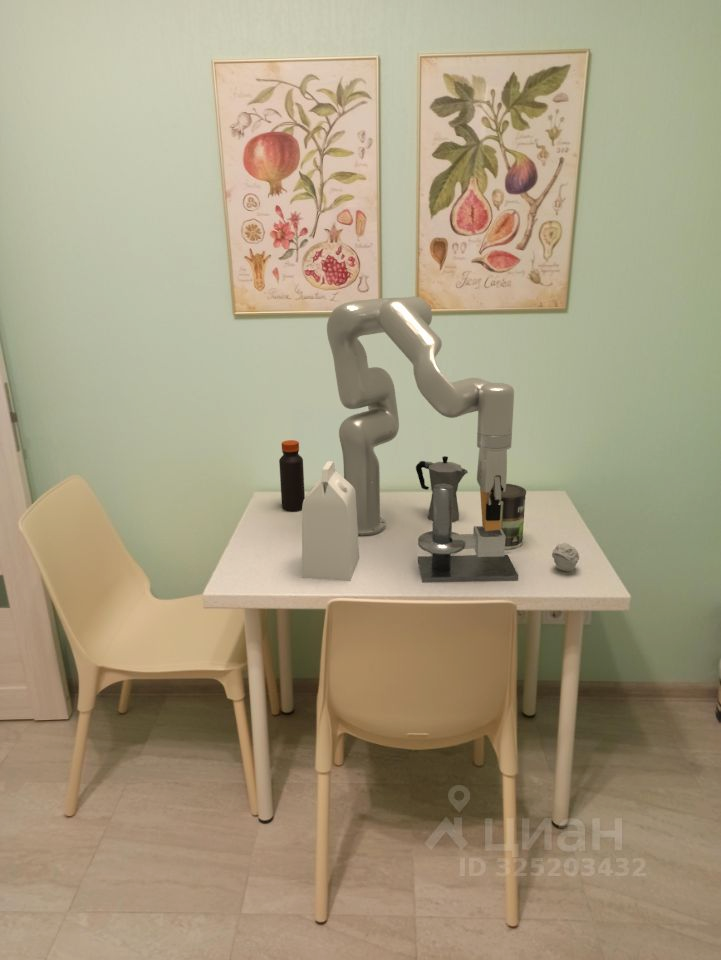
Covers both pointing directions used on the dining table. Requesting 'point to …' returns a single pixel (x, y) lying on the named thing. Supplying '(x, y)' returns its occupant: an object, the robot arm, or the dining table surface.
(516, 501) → the coffee can
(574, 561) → the plaster head sculpture
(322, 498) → the milk
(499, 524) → the orange rectangular block
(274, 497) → the dining table surface
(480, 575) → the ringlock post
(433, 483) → the coffeepot
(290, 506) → the vinegar
